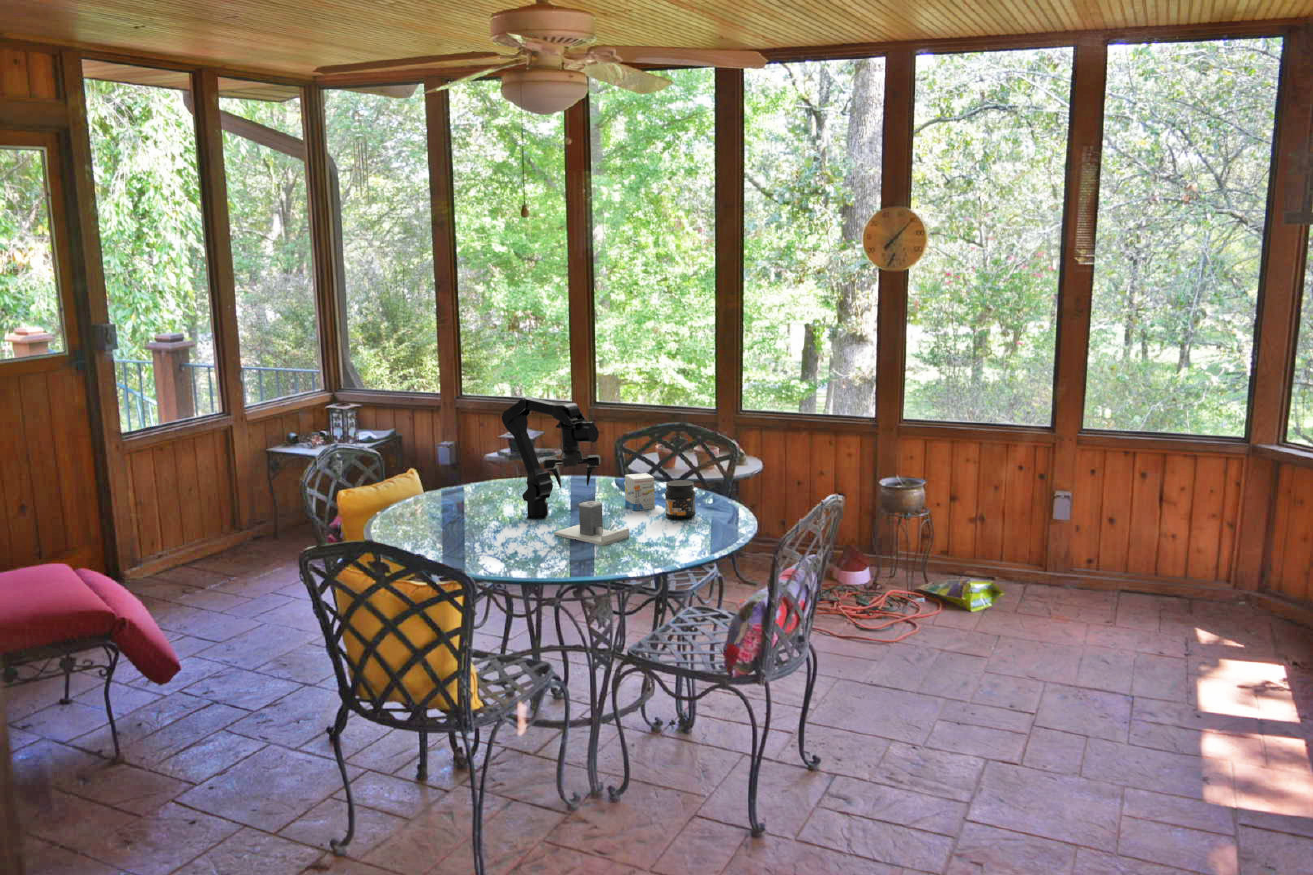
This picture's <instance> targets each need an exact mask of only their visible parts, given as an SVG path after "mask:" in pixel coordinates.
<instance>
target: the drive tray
mask: <svg viewBox="0 0 1313 875" xmlns="http://www.w3.org/2000/svg"><path fill="white" fill-rule="evenodd" d="M553 535H554V536H556V535H559V536H558V537H561V536H562V538H568V539H571V540H575V539H576V540H577V541H581V542H584V543H585V542H586V543H591V544H595V545H599V546H603V547H604V546H607V545H608V546H609V545H611V544H614V543H616V542H619V541H623V540H625V539H628V538H630V528H629V527H625V528H621V529H618V530H615V531H614V530H608V529H604V528H603V533H602V527H598V534H597V535H594V536H588V535H583V534H580V523H579V524H576V525H573V526H569V527H567V528H563V529H559V530H556V531H554V532H553Z"/></svg>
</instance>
